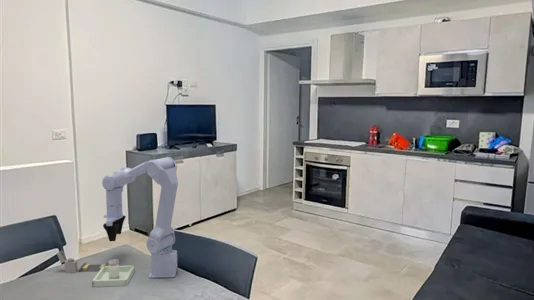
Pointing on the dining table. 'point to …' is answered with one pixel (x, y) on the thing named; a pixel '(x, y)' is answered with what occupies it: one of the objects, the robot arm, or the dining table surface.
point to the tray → (104, 281)
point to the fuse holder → (91, 267)
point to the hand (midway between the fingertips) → (115, 237)
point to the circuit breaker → (68, 263)
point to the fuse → (113, 269)
